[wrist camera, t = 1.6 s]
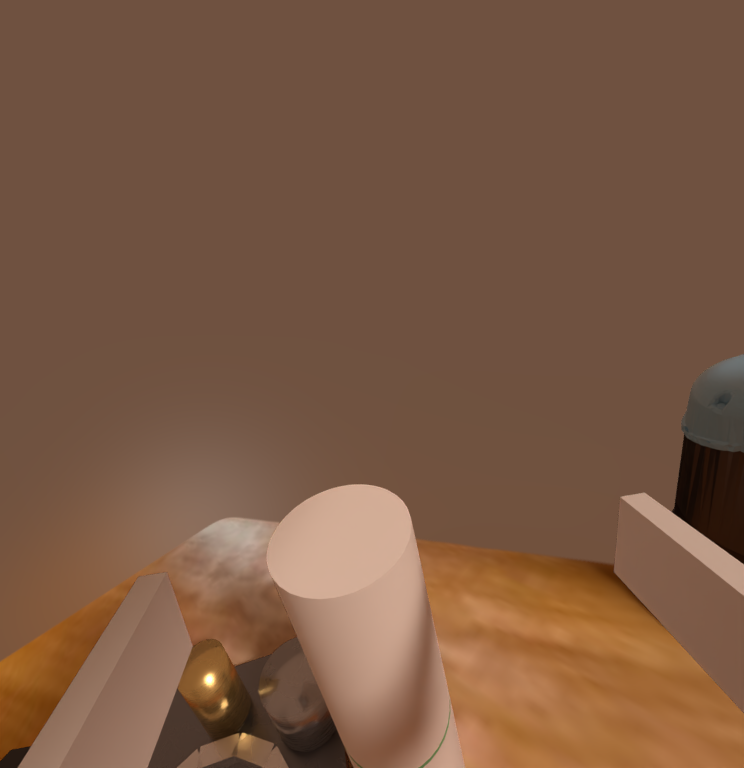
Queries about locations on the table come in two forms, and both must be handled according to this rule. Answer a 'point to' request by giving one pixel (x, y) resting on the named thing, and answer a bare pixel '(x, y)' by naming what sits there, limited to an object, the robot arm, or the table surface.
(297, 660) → the carrier
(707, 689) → the table surface
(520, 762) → the table surface
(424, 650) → the cylindrical container
